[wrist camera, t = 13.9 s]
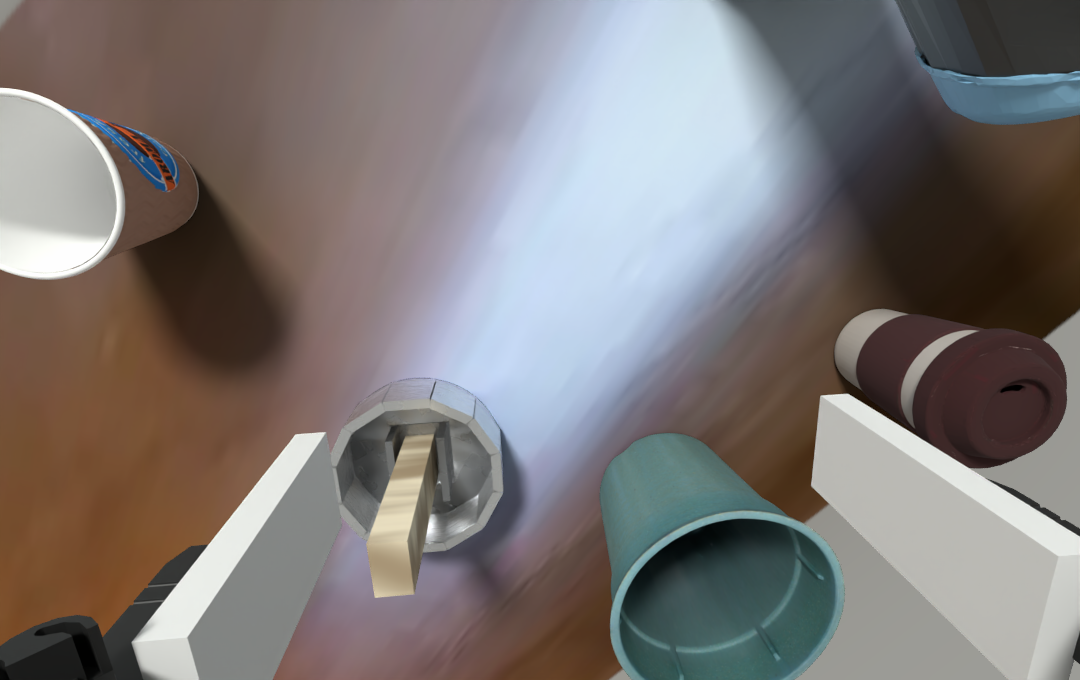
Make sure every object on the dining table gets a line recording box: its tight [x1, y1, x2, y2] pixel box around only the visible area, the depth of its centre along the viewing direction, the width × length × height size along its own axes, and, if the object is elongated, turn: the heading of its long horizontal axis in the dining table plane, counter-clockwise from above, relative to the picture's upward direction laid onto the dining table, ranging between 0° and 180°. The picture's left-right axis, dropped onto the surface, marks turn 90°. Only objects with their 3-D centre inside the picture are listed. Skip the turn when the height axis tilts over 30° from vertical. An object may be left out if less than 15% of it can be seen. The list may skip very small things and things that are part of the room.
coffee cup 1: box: [0, 88, 199, 280], centre depth 36 cm, size 10×10×12 cm
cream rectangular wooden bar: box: [366, 434, 439, 598], centre depth 42 cm, size 4×2×15 cm, turn 3°
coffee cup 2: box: [834, 309, 1067, 468], centre depth 43 cm, size 10×10×15 cm
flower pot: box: [600, 433, 845, 680], centre depth 45 cm, size 16×16×16 cm
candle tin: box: [330, 378, 503, 553], centre depth 48 cm, size 14×14×5 cm
